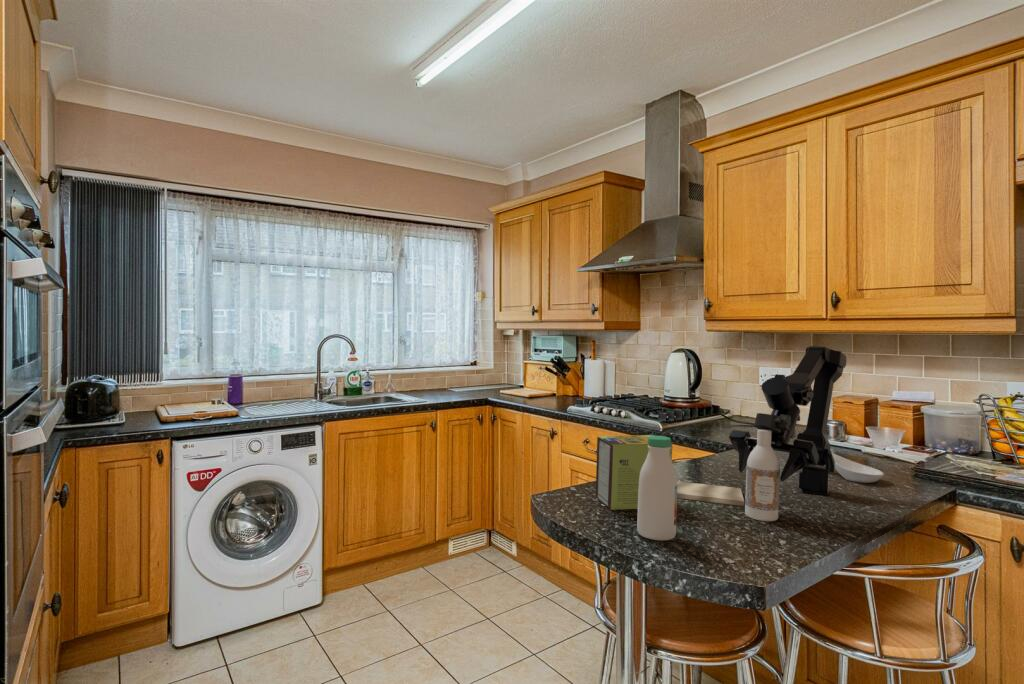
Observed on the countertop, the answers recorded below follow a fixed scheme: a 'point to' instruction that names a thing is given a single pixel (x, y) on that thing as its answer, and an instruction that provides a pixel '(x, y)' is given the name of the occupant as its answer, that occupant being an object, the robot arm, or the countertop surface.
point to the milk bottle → (657, 492)
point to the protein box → (620, 469)
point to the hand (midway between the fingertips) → (760, 475)
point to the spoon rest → (856, 471)
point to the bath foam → (762, 480)
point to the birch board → (710, 493)
